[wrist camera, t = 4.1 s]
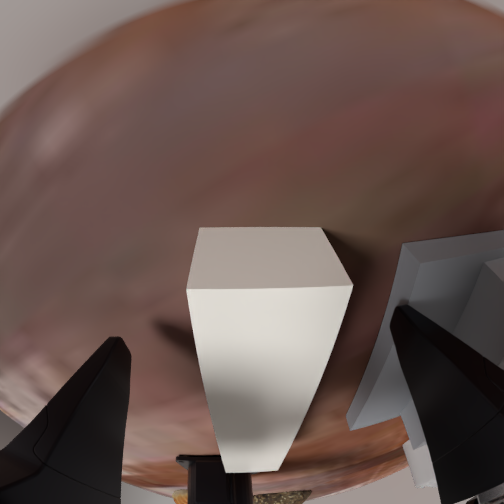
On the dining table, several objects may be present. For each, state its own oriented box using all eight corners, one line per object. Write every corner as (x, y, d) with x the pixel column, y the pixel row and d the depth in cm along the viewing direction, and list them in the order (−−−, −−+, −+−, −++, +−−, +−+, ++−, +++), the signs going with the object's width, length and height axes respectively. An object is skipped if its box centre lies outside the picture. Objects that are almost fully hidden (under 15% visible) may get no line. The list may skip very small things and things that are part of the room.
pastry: (182, 485, 29) (182, 506, 26) (224, 489, 31) (225, 509, 28) (171, 490, 33) (170, 507, 30) (207, 494, 35) (207, 511, 32)
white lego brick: (464, 419, 27) (481, 460, 19) (394, 453, 27) (408, 500, 20) (493, 388, 21) (516, 436, 14) (414, 431, 22) (434, 491, 15)
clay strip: (273, 433, 16) (277, 470, 14) (225, 435, 16) (225, 472, 14) (317, 222, 8) (353, 285, 6) (200, 222, 8) (186, 289, 5)
